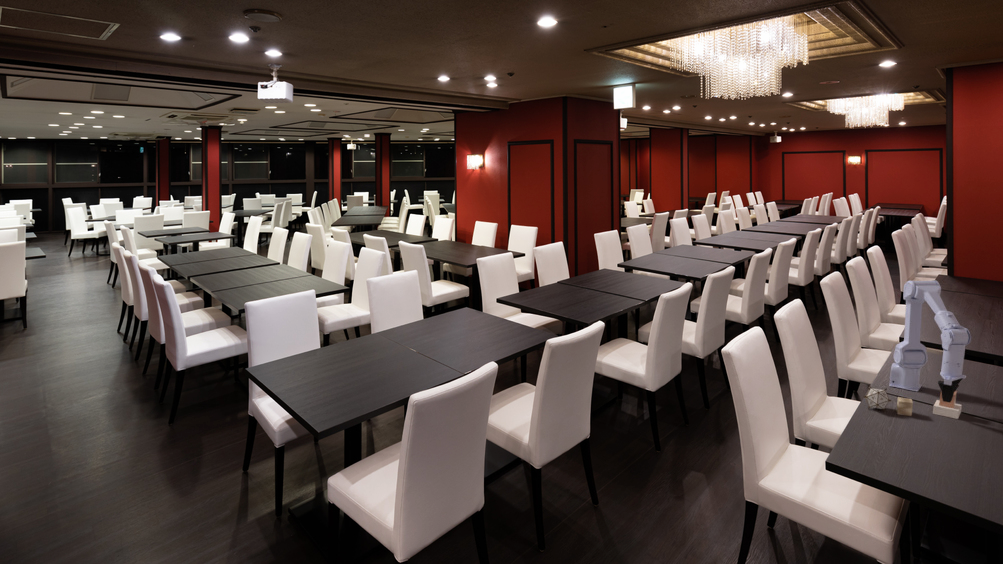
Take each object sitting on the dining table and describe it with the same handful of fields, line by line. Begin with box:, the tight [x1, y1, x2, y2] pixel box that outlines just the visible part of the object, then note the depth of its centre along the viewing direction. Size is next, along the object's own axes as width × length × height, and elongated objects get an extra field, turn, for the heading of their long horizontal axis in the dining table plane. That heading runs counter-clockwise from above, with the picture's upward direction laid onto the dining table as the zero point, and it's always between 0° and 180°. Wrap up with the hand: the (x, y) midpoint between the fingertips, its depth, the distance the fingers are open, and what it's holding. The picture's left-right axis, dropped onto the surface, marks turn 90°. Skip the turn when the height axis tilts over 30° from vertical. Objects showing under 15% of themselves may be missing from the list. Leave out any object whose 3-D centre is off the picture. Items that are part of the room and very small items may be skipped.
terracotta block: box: [939, 390, 958, 408], centre depth 197 cm, size 4×4×5 cm
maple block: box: [896, 396, 914, 417], centre depth 199 cm, size 4×4×5 cm
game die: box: [863, 385, 893, 412], centre depth 203 cm, size 9×8×10 cm
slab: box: [932, 399, 963, 420], centre depth 198 cm, size 7×7×3 cm
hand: (948, 398), depth 197 cm, fingers open, 7 cm apart
